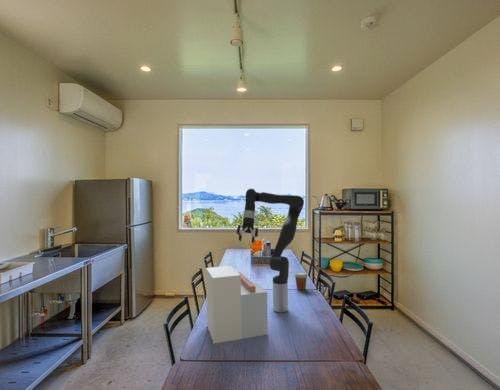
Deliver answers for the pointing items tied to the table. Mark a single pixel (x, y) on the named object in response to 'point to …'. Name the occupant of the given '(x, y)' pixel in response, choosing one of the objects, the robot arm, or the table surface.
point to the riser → (234, 306)
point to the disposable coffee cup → (301, 280)
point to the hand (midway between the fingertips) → (246, 242)
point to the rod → (247, 283)
